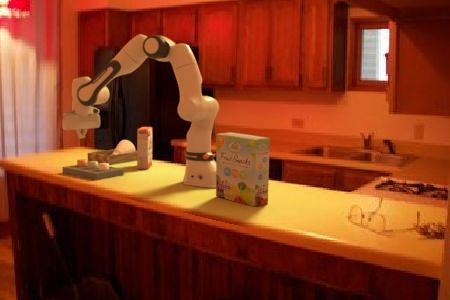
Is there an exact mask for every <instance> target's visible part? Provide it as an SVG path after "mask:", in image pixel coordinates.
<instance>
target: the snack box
mask: <svg viewBox="0 0 450 300" xmlns="http://www.w3.org/2000/svg"><path fill="white" fill-rule="evenodd" d="M215 139H216V142H215V143H216V144H215V145H216V146H215V149H216V150H215V151H216V153H215V159H216V160H215V162H216V188H215V196H216V197H217V198H218V197H219V198H221V199H225V200H228V201H231V202H236V203H239V204H242V205H246V206H250V207H253V208H255V207H260V206H263V205H268V204H269V182H270V181H269V179H270V177H269V175H270V171H269V170H270V143H271V142H270V141H271V138H270V137H266V136H259V135H251V134H246V133H239V132H238V133H237V132H230V131H229V132H221V133H220V132H219V133H216V136H215Z"/></svg>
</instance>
